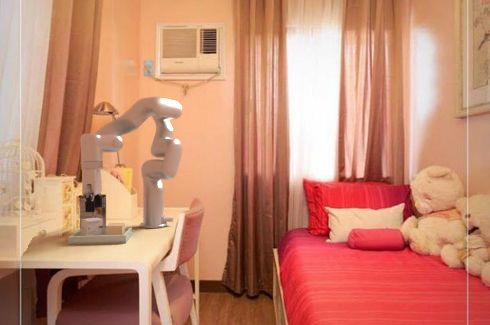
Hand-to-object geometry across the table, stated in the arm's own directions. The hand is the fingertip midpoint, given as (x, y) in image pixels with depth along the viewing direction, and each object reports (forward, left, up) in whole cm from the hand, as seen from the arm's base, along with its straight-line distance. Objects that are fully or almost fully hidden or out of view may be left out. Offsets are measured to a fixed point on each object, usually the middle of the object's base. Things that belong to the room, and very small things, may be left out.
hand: (93, 209), depth 126 cm
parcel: (-8, +1, -12) cm, 14 cm away
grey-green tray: (-3, +1, -12) cm, 12 cm away
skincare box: (+1, 0, -11) cm, 11 cm away
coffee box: (+4, -13, -12) cm, 18 cm away
